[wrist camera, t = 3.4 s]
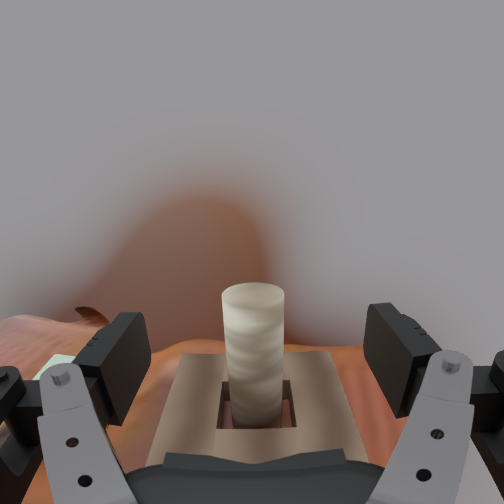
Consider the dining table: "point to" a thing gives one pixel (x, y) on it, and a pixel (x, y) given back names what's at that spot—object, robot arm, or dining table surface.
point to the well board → (256, 440)
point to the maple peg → (254, 353)
